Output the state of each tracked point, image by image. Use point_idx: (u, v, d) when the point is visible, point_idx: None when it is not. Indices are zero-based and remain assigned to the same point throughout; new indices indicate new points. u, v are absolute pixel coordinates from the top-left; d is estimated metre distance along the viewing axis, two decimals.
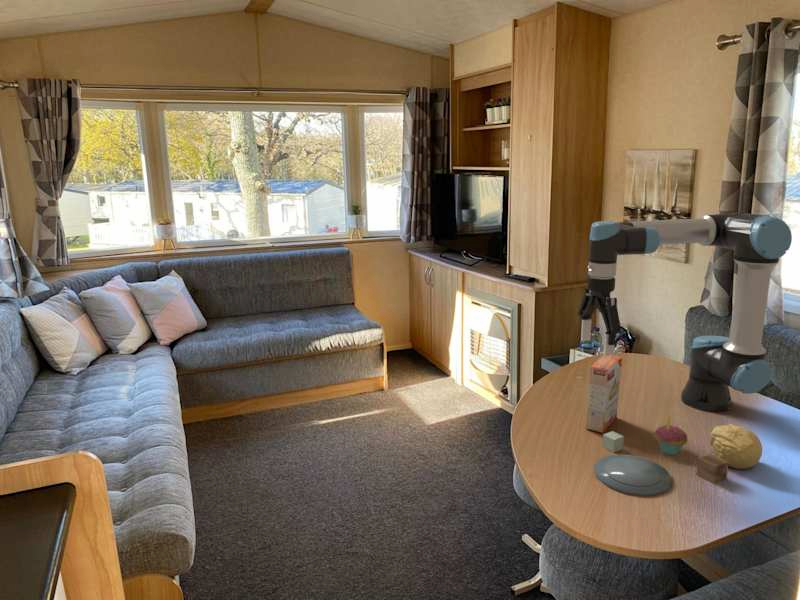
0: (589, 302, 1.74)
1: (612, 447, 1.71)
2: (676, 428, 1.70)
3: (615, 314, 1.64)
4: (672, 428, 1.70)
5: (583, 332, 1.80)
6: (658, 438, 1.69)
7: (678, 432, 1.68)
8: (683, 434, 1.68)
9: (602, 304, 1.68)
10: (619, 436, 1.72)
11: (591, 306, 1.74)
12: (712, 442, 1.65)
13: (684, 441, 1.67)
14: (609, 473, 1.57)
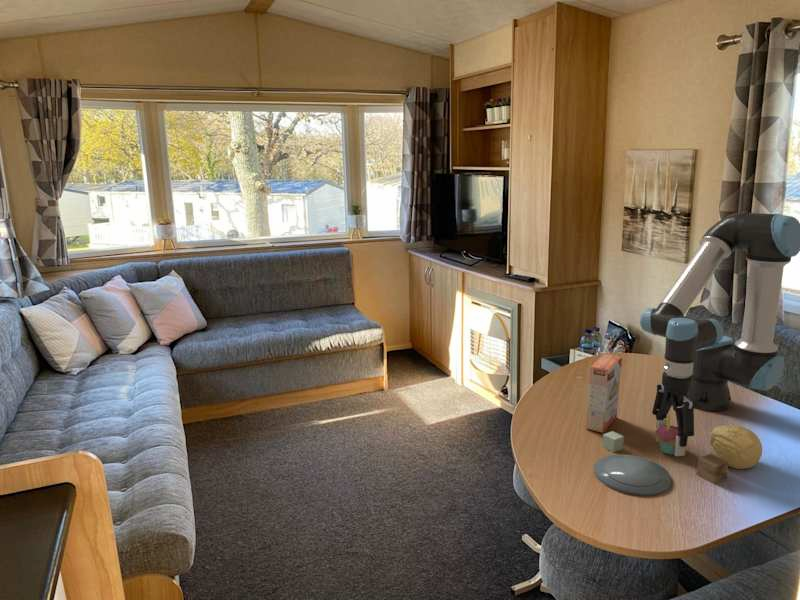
0: (664, 399, 1.69)
1: (612, 447, 1.71)
2: (676, 428, 1.70)
3: (691, 418, 1.62)
4: (672, 428, 1.70)
5: None
6: (658, 438, 1.69)
7: (678, 432, 1.68)
8: None
9: (679, 403, 1.64)
10: (619, 436, 1.72)
11: (666, 403, 1.70)
12: (712, 442, 1.65)
13: None
14: (609, 473, 1.57)
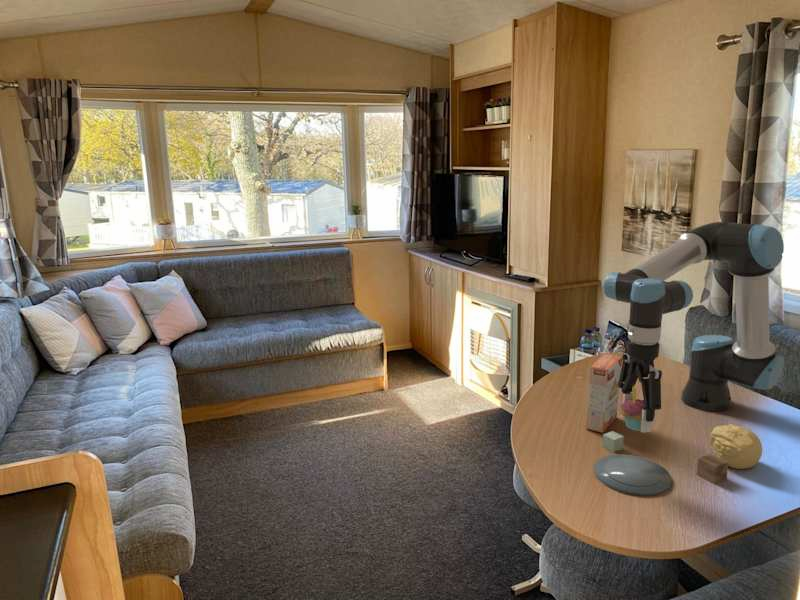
0: (629, 370, 1.53)
1: (612, 447, 1.71)
2: (643, 402, 1.54)
3: (657, 389, 1.45)
4: (638, 402, 1.53)
5: None
6: (623, 412, 1.53)
7: None
8: None
9: (644, 373, 1.48)
10: (619, 436, 1.72)
11: (632, 375, 1.54)
12: (712, 442, 1.65)
13: None
14: (609, 473, 1.57)
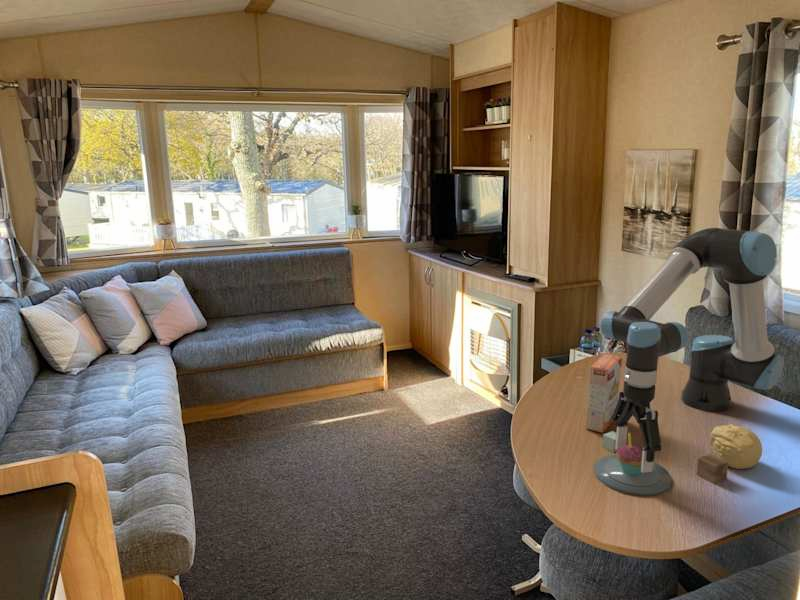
0: (625, 409, 1.56)
1: (612, 447, 1.71)
2: (638, 447, 1.57)
3: (655, 429, 1.47)
4: (634, 447, 1.57)
5: (618, 440, 1.62)
6: (619, 458, 1.56)
7: (640, 452, 1.55)
8: None
9: (641, 414, 1.51)
10: None
11: (627, 413, 1.57)
12: (712, 442, 1.65)
13: None
14: (609, 473, 1.57)
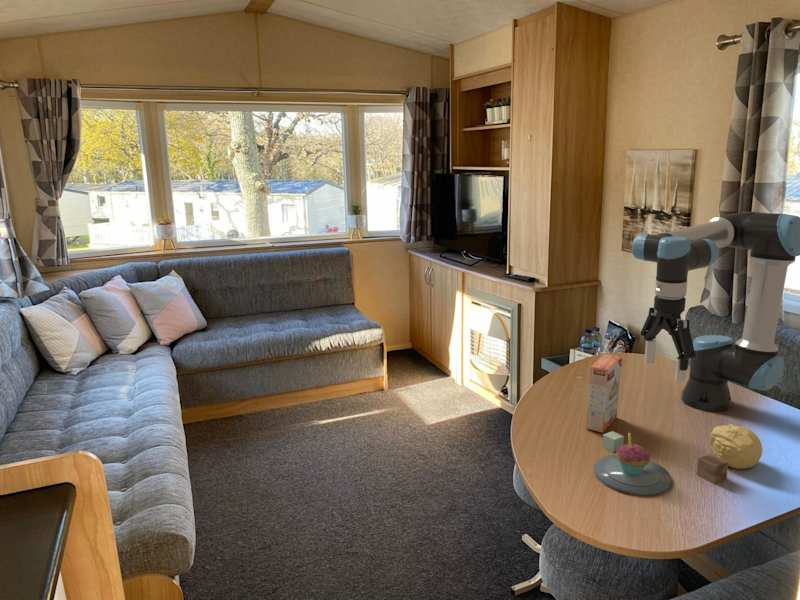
0: (655, 323, 1.62)
1: (612, 447, 1.71)
2: (638, 447, 1.57)
3: (688, 337, 1.52)
4: (634, 447, 1.57)
5: (647, 354, 1.68)
6: (619, 458, 1.56)
7: (640, 452, 1.55)
8: (645, 453, 1.55)
9: (672, 326, 1.56)
10: (619, 436, 1.72)
11: (657, 327, 1.62)
12: (712, 442, 1.65)
13: (646, 461, 1.54)
14: (609, 473, 1.57)
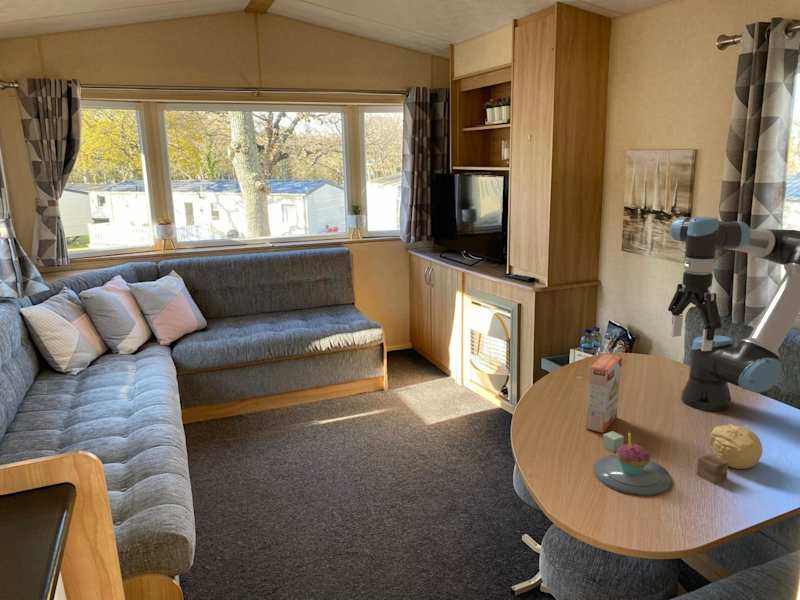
0: (683, 298, 1.74)
1: (612, 447, 1.71)
2: (638, 447, 1.57)
3: (715, 309, 1.64)
4: (634, 447, 1.57)
5: (674, 328, 1.80)
6: (619, 457, 1.56)
7: (640, 452, 1.55)
8: (645, 453, 1.55)
9: (699, 299, 1.68)
10: (619, 436, 1.72)
11: (685, 302, 1.75)
12: (712, 442, 1.65)
13: (646, 461, 1.54)
14: (609, 473, 1.57)
